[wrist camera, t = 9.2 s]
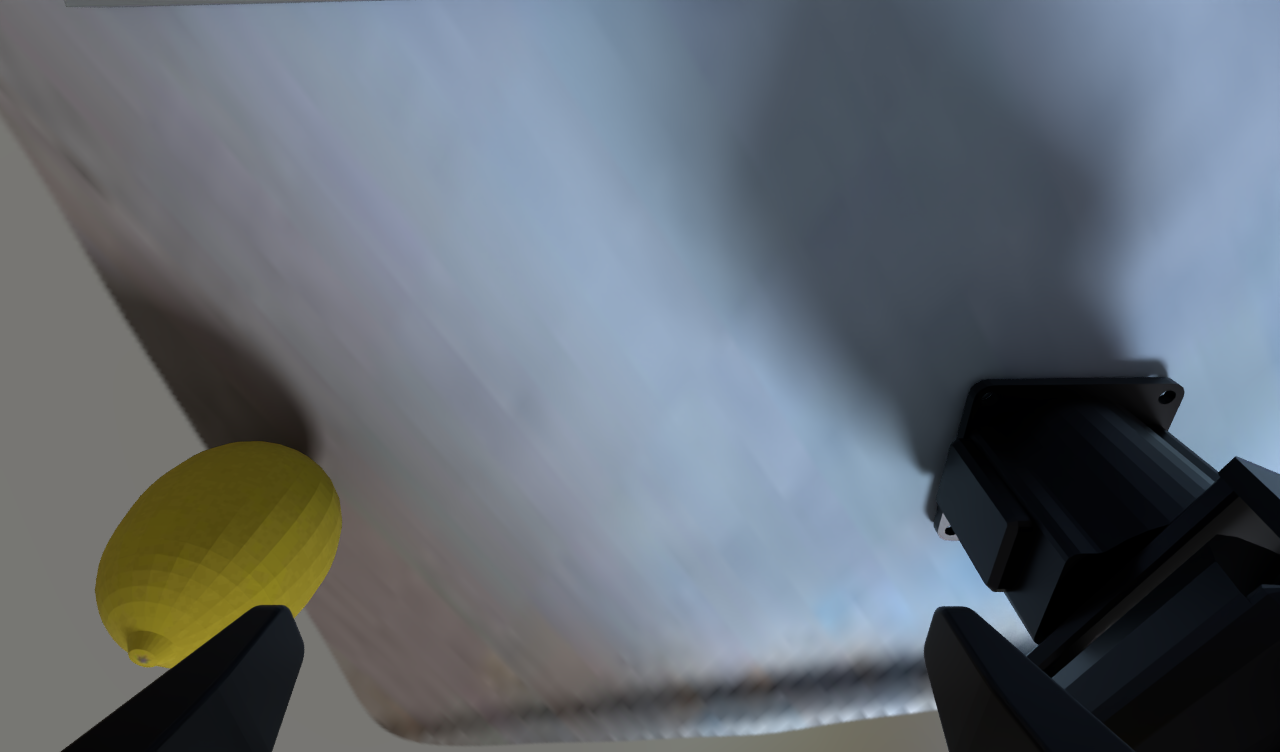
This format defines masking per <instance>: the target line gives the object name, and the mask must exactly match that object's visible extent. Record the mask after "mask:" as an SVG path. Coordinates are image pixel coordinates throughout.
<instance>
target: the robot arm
mask: <svg viewBox="0 0 1280 752" xmlns="http://www.w3.org/2000/svg"><path fill="white" fill-rule="evenodd" d="M1165 391H1166V392H1165ZM990 392H992V394H991V396H989V397H988V398H987V399H982V398H983V396H984V395H985V394H987V393H990ZM1164 392H1165V394H1164V395H1162V396H1160V395H1161V394H1162V393H1164ZM1159 396H1160V397H1159ZM1183 397H1184V389H1183V387H1182V386H1180V385H1179V384H1178V383H1176V382H1175V381H1173V380H1172V379H1170V378H1166V377H1135V378H1040V379H985V380H981V381H979V382H977V383H975V384H974V385H973V386H972V387H971V389H970V391H969V393H968V396H967V400H966V404H965V408H964V411H963V415H962V419H961V422H960V426H959V430H958V434H957V437H956V439H955V440H954V441H953V442H952V444H951V445H950V448H949V452H948V456H947V460H946V463H945V467H944V471H943V475H942V479H941V482H940V486H939V490H938V494H937V497H936V501H937V503H938V508H937V512H936V516H935V520H934V528H935V530H936V532H937V533H938V535H939V537H940V538H942V539H943V540H948V541H960V542H961V544H962V546H963V548H964V549H965V551H966V553H967V554H968V556H969V558H970V559H971V561H972V563H973V565H974V566H975V568H976V570H977V571H978V573H979V575H980V576H981V578H982V580H983V582H984V583H985V585H986V586H987V587H989V588H990V589H991V590H992V591H993V592H1004V593H1005V595H1006V596H1007V598H1008V600H1009V601H1010V603H1011V605H1012V606H1013V608H1014V609H1015V611H1016V613H1017V614H1018V616H1019V618H1020V619H1021V621H1022V623H1023V624H1024V626H1025V627H1026V629H1027V631H1028V632H1029V634H1030V636H1031V637H1032V639H1033V640H1034V642H1035V643H1036V644H1038V645H1037V646H1036V647H1035V648H1034V649H1033V650H1032V651H1031V652H1030V653H1029V654H1027V655H1026V656H1025V655H1024V654H1023V653H1022V652H1021V651H1019V650H1018V649H1017V648H1016V647H1015V646H1014V645H1013V644H1011V643H1010V642H1009V641H1008V640H1007V639H1006V638H1005V637H1003V636H1002V635H1001V634H1000V633H999V632H998V631H996V630H995V629H994V628H993V627H992V626H991V625H990V624H988V623H987V622H986V621H985V620H984V619H983V618H982V617H980V616H979V615H978V614H977V613H976V612H975V611H973V610H972V609H970V608H968V607H962V606H942V607H939V608H937V609H936V610H935V612H934V615H933V618H932V621H931V625H930V628H929V631H928V635H927V638H926V641H925V645H924V659H925V664H926V668H927V672H928V676H929V679H930V683H931V687H932V691H933V694H934V698H935V702H936V705H937V709H938V713H939V717H940V720H941V724H942V728H943V732H944V735H945V739H946V743H947V746H948V750H949V752H1280V474H1278V473H1276V472H1273V471H1271V470H1268V469H1266V468H1264V467H1261V466H1259V465H1256V464H1254V463H1252V462H1249V461H1247V460H1244V459H1242V458H1240V457H1237V456H1236V457H1234V458H1233V459H1232V460H1231V461H1230V462H1229V463H1228V464H1227V465H1226V466H1225V467H1224V468H1223V469H1221V470H1220V471H1219V472H1218V471H1217V470H1215V469H1214V468H1213V467H1212V466H1210V465H1209V464H1208V463H1207V462H1205V461H1204V460H1203V459H1202V458H1200V457H1199V456H1198V455H1197V454H1195V453H1194V452H1193V451H1192V450H1190V449H1189V448H1188V447H1187V446H1185V445H1184V444H1183V443H1182V442H1180V441H1179V440H1178V439H1177V438H1175V437H1174V436H1173V435H1172V434H1170V433H1169V432H1168V429H1169V427H1170V425H1171V423H1172V421H1173V419H1174V416H1175V414H1176V412H1177V410H1178V408H1179V406H1180V403H1181V401H1182V399H1183ZM948 526H951V527H948ZM947 527H948V528H947ZM303 657H304V643H303V640H302V637H301V635H300V632H299V630H298V627H297V625H296V622H295V620H294V618H293V615H292V613H291V611H290V609H289V608H288V607H286V606H285V605H258V606H255V607H253V608H251V609H250V610H248V611H247V612H245V613H244V614H243V615H241V616H240V617H239V618H237V619H236V620H235V621H233V622H232V623H231V624H229V625H228V626H227V627H225V628H224V629H223V630H222V631H220V632H219V633H218V634H216V635H215V636H214V637H212V638H211V639H210V640H208V641H207V642H206V643H204V644H203V645H202V646H200V647H199V648H198V649H196V650H195V651H194V652H192V653H191V654H190V655H188V656H187V657H186V658H184V659H183V660H182V661H180V662H179V663H178V664H176V665H175V666H174V667H172V668H171V669H170V670H168V671H167V672H166V673H164V674H163V675H162V676H160V677H159V678H158V679H156V680H155V681H154V682H152V683H151V684H150V685H148V686H147V687H146V688H144V689H143V690H142V691H141V692H139V693H138V694H136V695H135V696H134V697H132V698H131V699H130V700H129V701H127V702H126V703H125V704H123V705H122V706H120V707H119V708H118V709H116V710H115V711H114V712H113V713H111V714H110V715H109V716H107V717H106V718H105V719H103V720H102V721H101V722H99V723H98V724H97V725H95V726H94V727H93V728H91V729H90V730H89V731H87V732H86V733H85V734H83V735H82V736H81V737H79V738H78V739H77V740H75V741H74V742H73V743H71V744H70V745H69V746H67V747H66V748H65V749H63V750H62V751H61V752H272V750H273V747H274V744H275V741H276V738H277V735H278V732H279V729H280V726H281V724H282V721H283V718H284V715H285V712H286V709H287V706H288V703H289V700H290V697H291V694H292V691H293V688H294V685H295V682H296V679H297V676H298V673H299V670H300V667H301V664H302V661H303Z"/></svg>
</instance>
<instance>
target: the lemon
mask: <svg viewBox="0 0 1280 752" xmlns="http://www.w3.org/2000/svg"><path fill="white" fill-rule="evenodd" d="M341 528H342V516H341V508H340V501H339V497H338V495H337V492H336V490H335V488H334V486H333V483H332V481H331V479H330V478H329V477H328V476H327V474H326V473H325V472H324V470H323V469H322V468H321V467H320V466H319V465H318V464H316V463H315V462H314V461H313V460H312V459H310V458H309V457H308V456H306V455H304V454H302V453H301V452H299V451H297V450H295V449H292V448H289V447H286V446H283V445H281V444H276V443H270V442H264V441H246V442H234V443H229V444H225V445H222V446H218V447H215V448H211V449H208V450H205V451H202V452H200V453H198V454H196V455H194V456H192V457H191V458H189V459H187V460H186V461H184V462H182V463H181V464H179V465H178V466H176V467H175V468H173V469H172V470H170V471H169V472H167V473H166V474H164V475H163V476H162V477H160V478H159V479H158V480H157V481H155V482H154V483H153V484H152V485H151V486H150V487H149V488H148V489H147V490H146V491H145V492H144V493H143V494H142V495H141V496H140V497H139V499H138V500H137V501H136V502H135V504H134V505H133V506H132V507H131V509H130V510H129V511H128V513H127V514H126V516H125V517H124V518H123V520H122V521H121V523H120V524H119V525H118V527H117V528H116V530H115V532H114V533H113V535H112V536H111V538H110V540H109V542H108V544H107V546H106V548H105V550H104V552H103V554H102V557H101V560H100V563H99V568H98V573H97V578H96V587H95V593H96V601H97V606H98V610H99V614H100V617H101V619H102V622H103V624H104V626H105V627H106V629H107V631H108V632H109V634H110V635H111V637H112V638H113V640H114V641H115V642H116V643H117V644H118V645H119V646H120V647H121V648H122V649H124V650H125V651H127V652H128V655H129V658H130V660H131V661H133V662H134V663H135V664H137V665H139V666H143V667H154V666H160V667H165V668H172V667H174V666H175V665H176V664H178V663H179V662H180V661H182V660H183V659H184V658H186V657H187V656H188V655H190V654H191V653H192V652H194V651H195V650H196V649H198V648H199V647H200V646H202V645H203V644H204V643H206V642H207V641H208V640H210V639H211V638H212V637H214V636H215V635H216V634H218V633H219V632H220V631H222V630H223V629H224V628H225V627H227V626H228V625H229V624H231V623H232V622H233V621H235V620H236V619H237V618H239V617H240V616H241V615H243V614H244V613H245V612H247V611H248V610H250V609H251V608H253V607H255V606H258V605H285V606H286V607H288V608H289V609H290V611H291V613H292V615H293V618H295V617H296V616H297V614H298V613H299V612H300V611H301V610H302V609H303V608H304V606H305V605H306V604H307V603H308V601H309V600H310V599H311V597H312V596H313V594H314V593H315V592H316V590H317V589H318V587H319V586H320V584H321V583H322V581H323V580H324V578H325V576H326V575H327V573H328V571H329V569H330V567H331V565H332V562H333V560H334V557H335V554H336V551H337V547H338V542H339V538H340V533H341Z"/></svg>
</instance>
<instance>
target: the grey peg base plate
mask: <svg viewBox="0 0 1280 752" xmlns="http://www.w3.org/2000/svg"><path fill="white" fill-rule="evenodd" d="M342 1H382V0H64V2H65V5H66V7H97V8H100V7H140V6H180V5H221V4H261V3H301V2H342Z"/></svg>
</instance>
